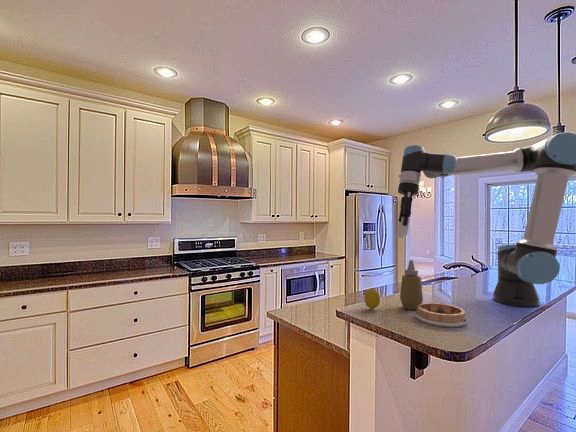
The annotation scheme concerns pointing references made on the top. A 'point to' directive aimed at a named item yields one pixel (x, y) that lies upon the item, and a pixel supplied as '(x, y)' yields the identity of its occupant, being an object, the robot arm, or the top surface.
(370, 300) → the lemon
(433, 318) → the flange seat
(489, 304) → the top surface
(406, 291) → the squeeze bottle
